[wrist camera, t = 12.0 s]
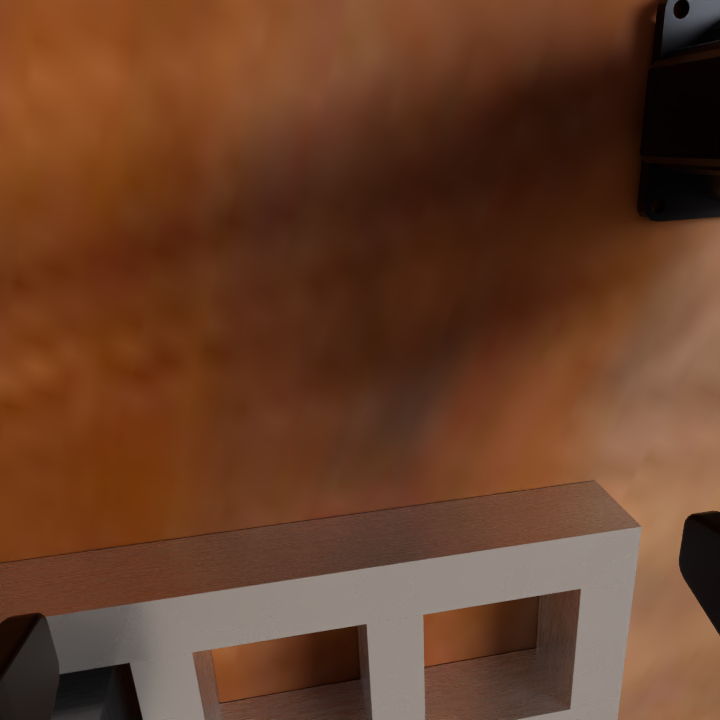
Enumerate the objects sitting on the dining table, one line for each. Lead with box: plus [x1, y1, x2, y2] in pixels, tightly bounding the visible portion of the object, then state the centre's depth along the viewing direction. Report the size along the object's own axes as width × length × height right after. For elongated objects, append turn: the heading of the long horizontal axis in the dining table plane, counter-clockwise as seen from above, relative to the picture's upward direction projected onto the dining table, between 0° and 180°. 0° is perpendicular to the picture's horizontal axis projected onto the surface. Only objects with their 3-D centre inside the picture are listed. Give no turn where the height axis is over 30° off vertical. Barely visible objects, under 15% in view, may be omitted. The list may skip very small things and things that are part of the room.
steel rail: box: [0, 481, 641, 720], centre depth 22 cm, size 25×10×3 cm, turn 93°
